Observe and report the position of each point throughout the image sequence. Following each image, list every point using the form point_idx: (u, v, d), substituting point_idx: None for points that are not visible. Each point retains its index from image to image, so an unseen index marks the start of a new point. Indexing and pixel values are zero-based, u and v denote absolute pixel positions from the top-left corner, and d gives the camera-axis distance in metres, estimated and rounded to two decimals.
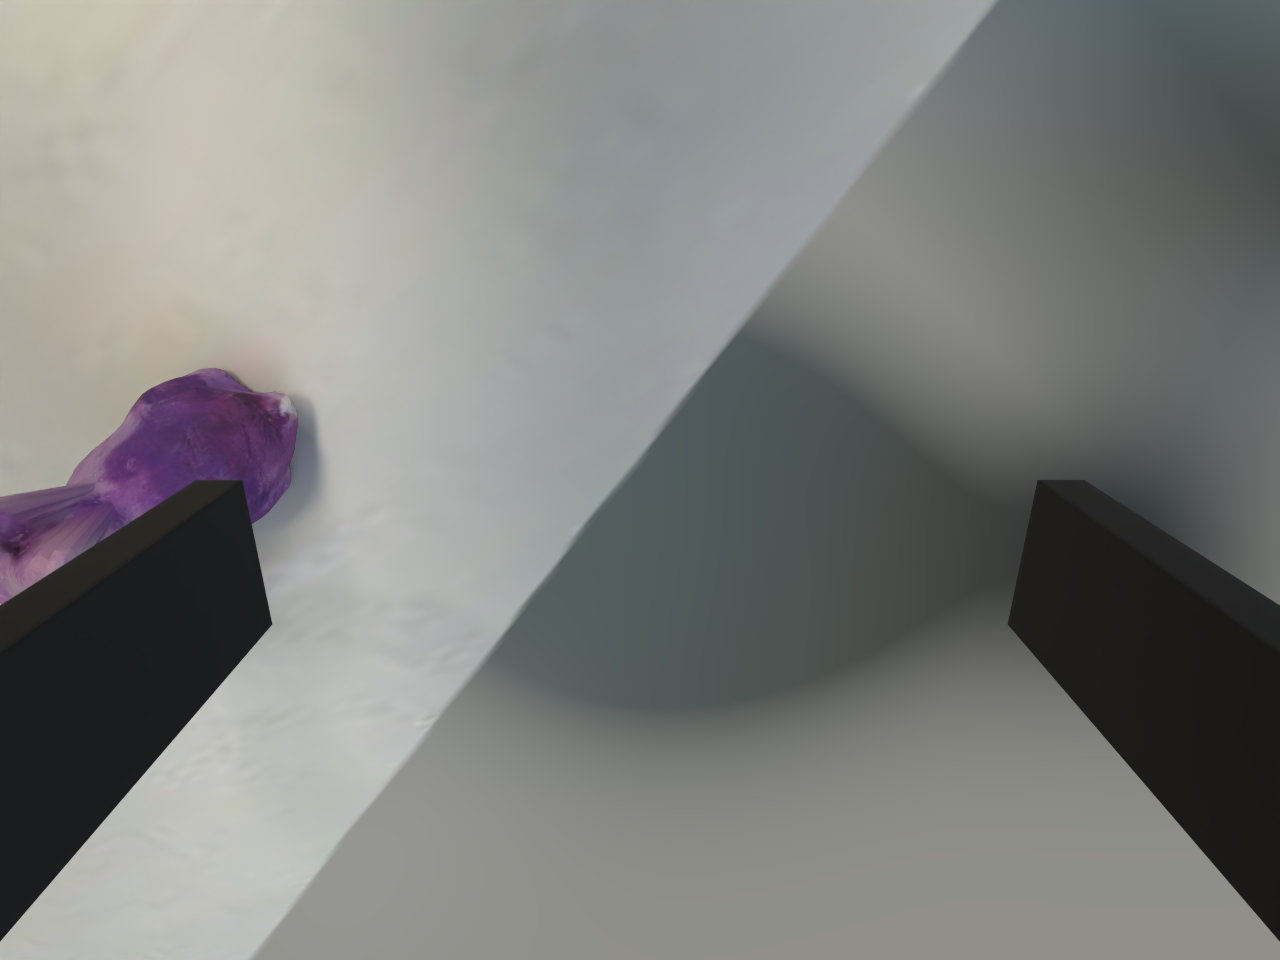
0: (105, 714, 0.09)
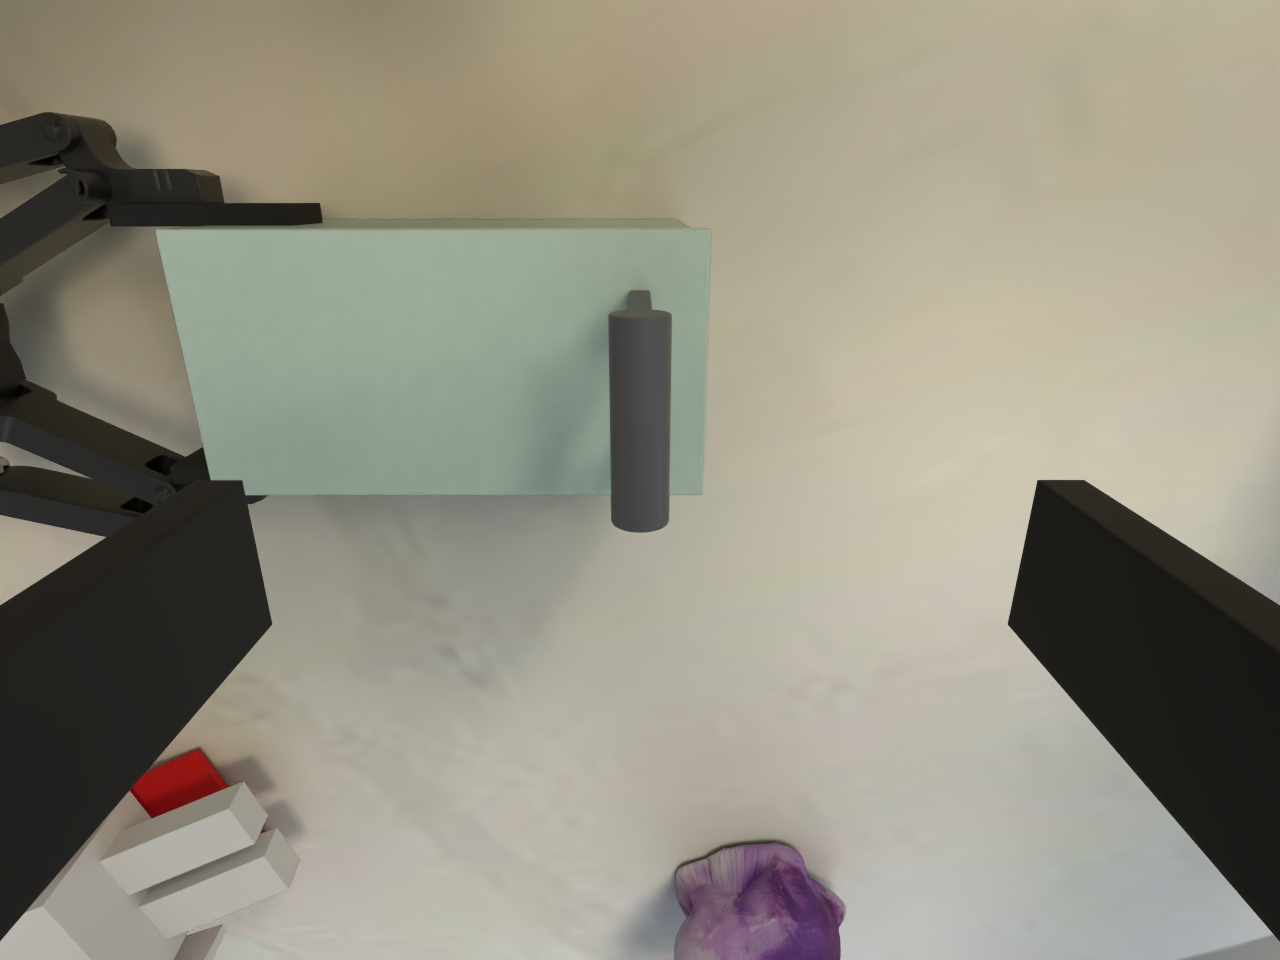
0: (105, 714, 0.09)
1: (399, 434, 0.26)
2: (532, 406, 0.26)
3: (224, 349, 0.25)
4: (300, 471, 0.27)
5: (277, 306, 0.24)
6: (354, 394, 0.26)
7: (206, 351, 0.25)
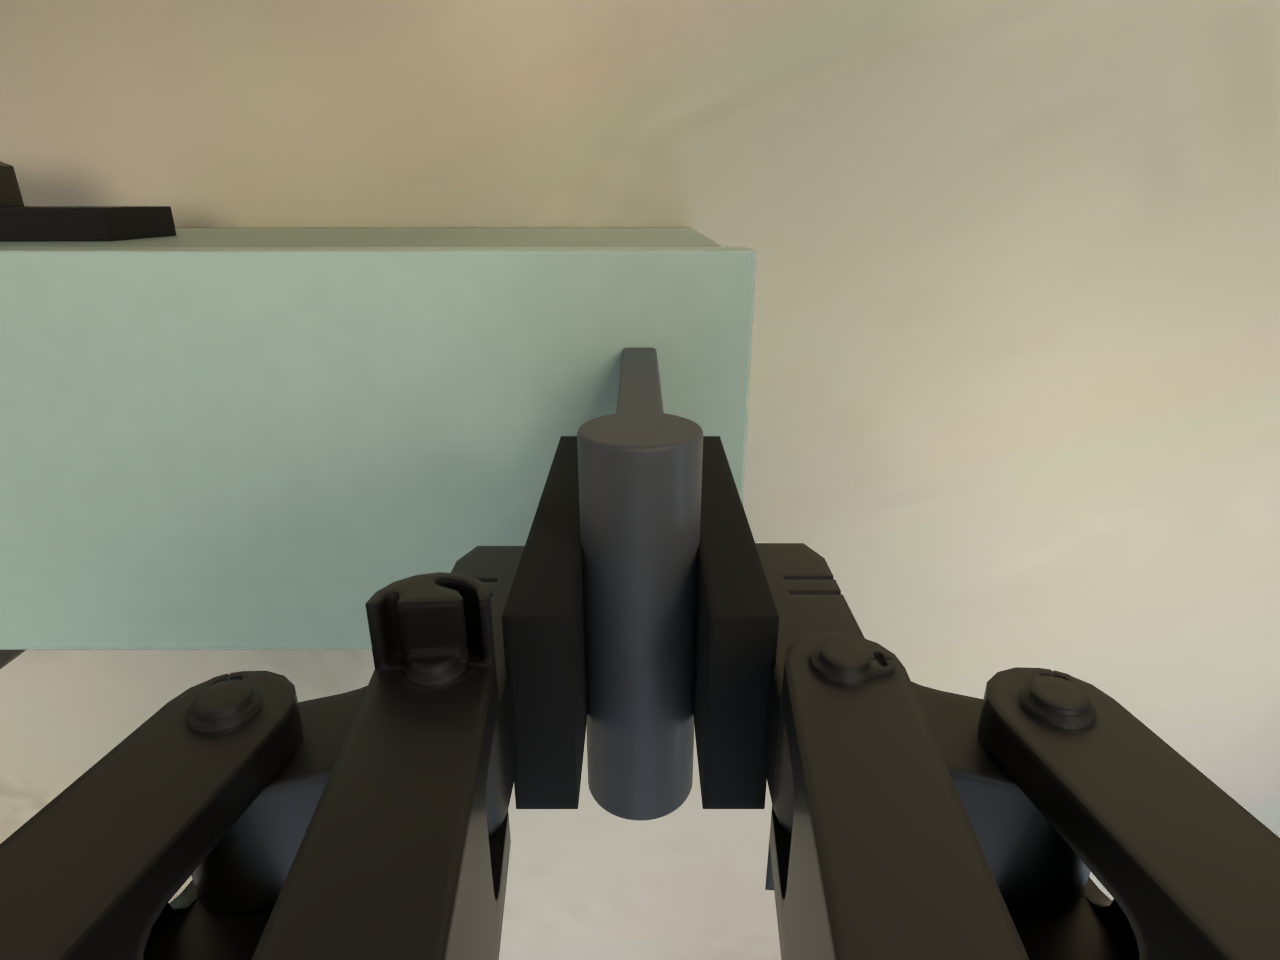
0: None
1: (269, 563, 0.17)
2: (473, 522, 0.17)
3: None
4: (123, 617, 0.17)
5: (60, 372, 0.15)
6: (195, 505, 0.16)
7: None
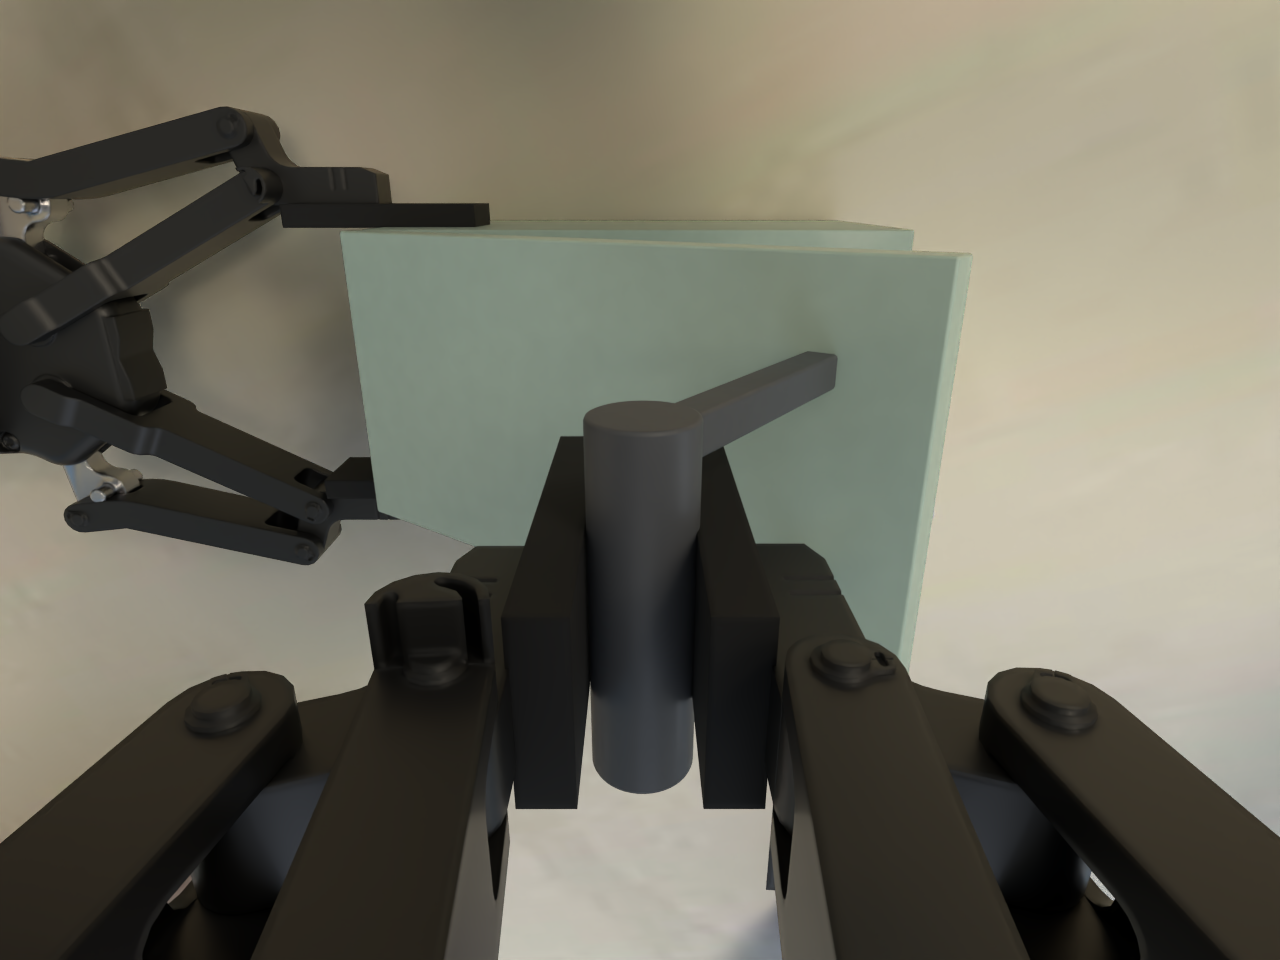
0: None
1: (522, 492, 0.21)
2: None
3: (384, 363, 0.23)
4: (439, 508, 0.23)
5: (423, 322, 0.21)
6: (484, 435, 0.21)
7: (373, 363, 0.23)
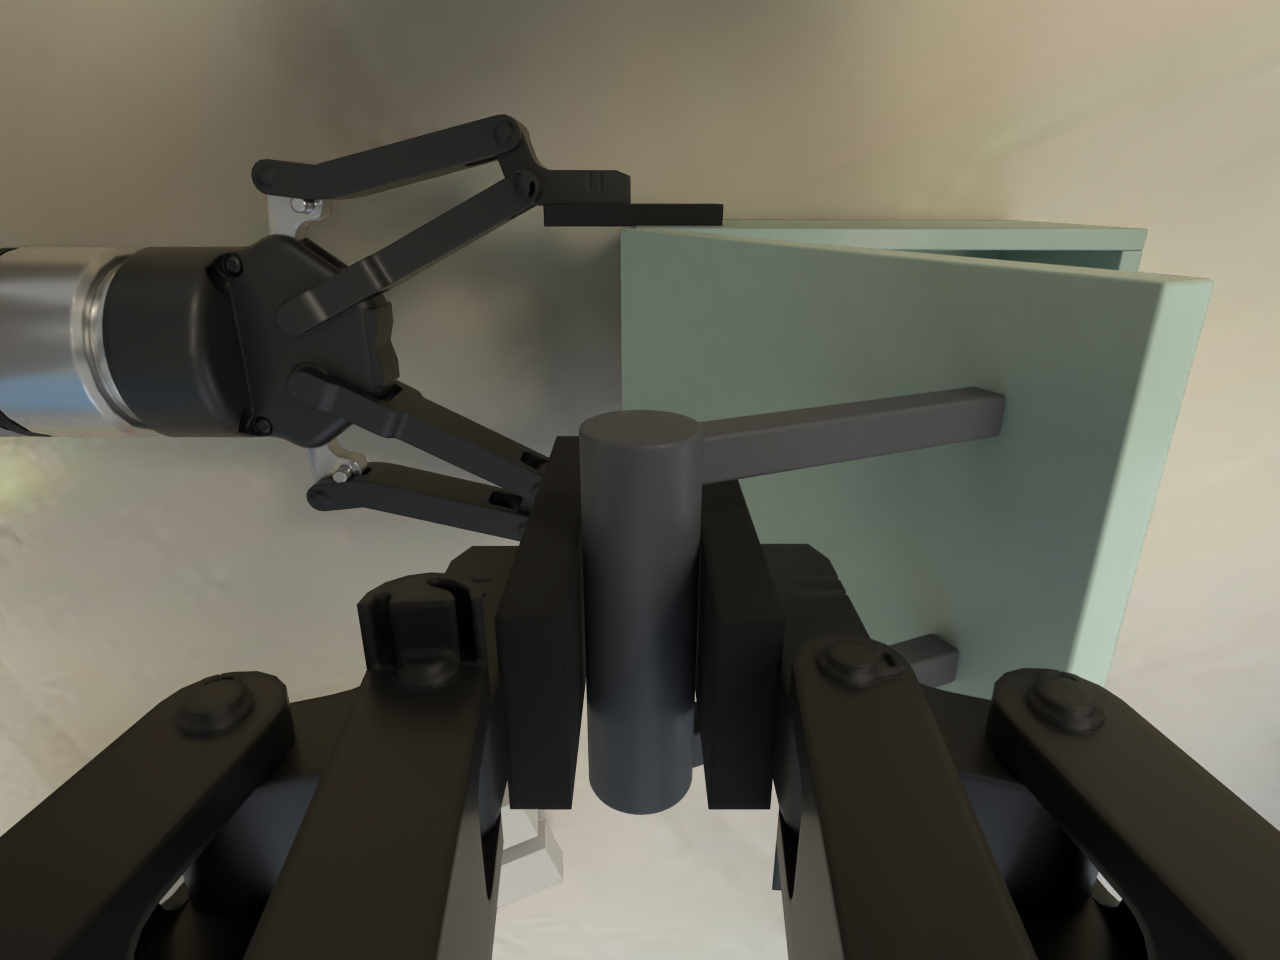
0: None
1: None
2: (824, 524, 0.16)
3: (637, 352, 0.25)
4: None
5: (665, 317, 0.22)
6: None
7: (630, 351, 0.25)
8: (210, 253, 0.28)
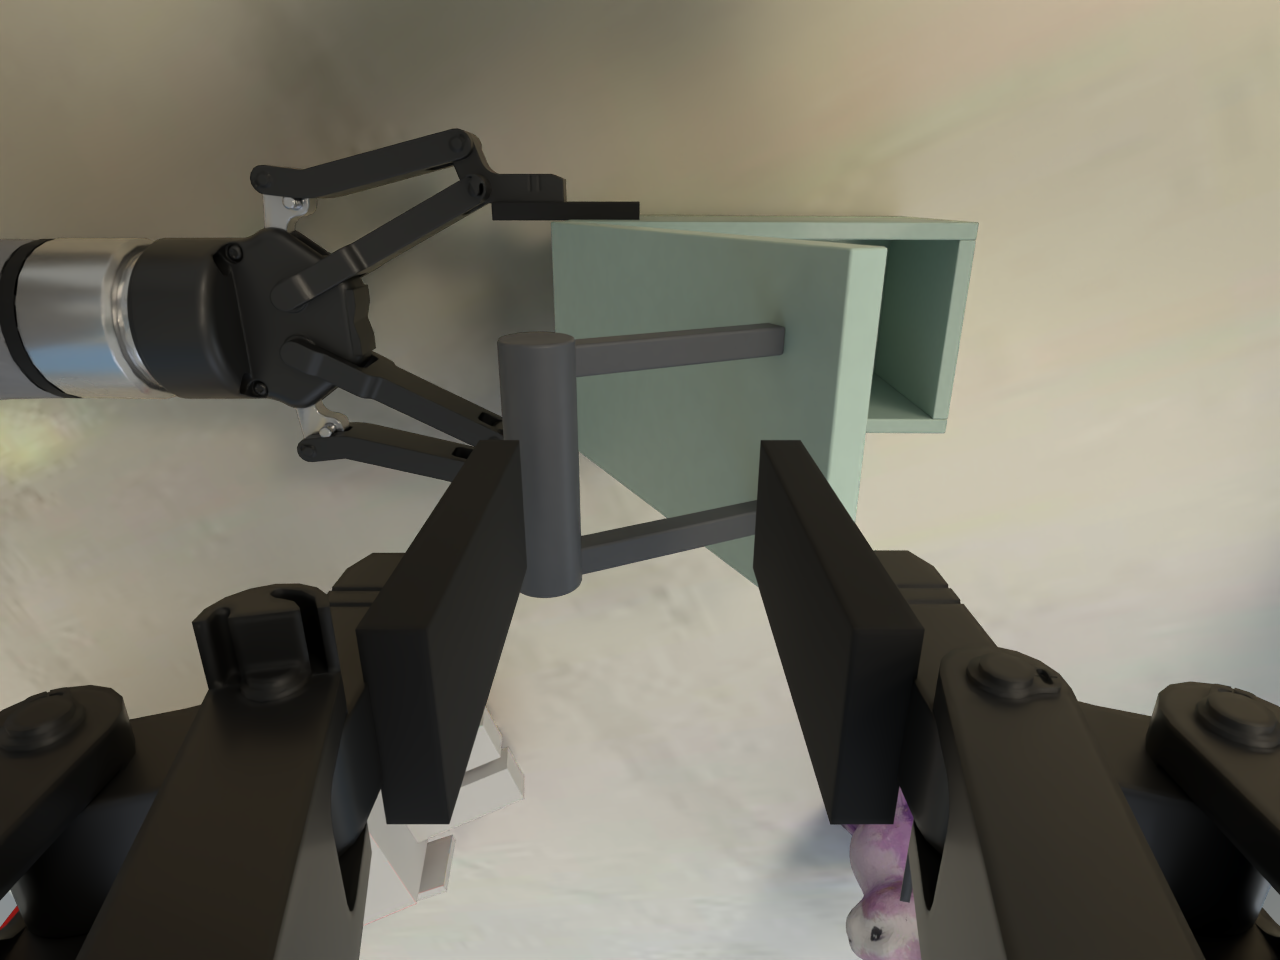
0: (485, 620, 0.11)
1: (626, 428, 0.27)
2: (694, 436, 0.22)
3: (566, 322, 0.30)
4: (587, 437, 0.30)
5: (585, 291, 0.28)
6: (609, 380, 0.27)
7: (561, 321, 0.31)
8: (215, 243, 0.33)
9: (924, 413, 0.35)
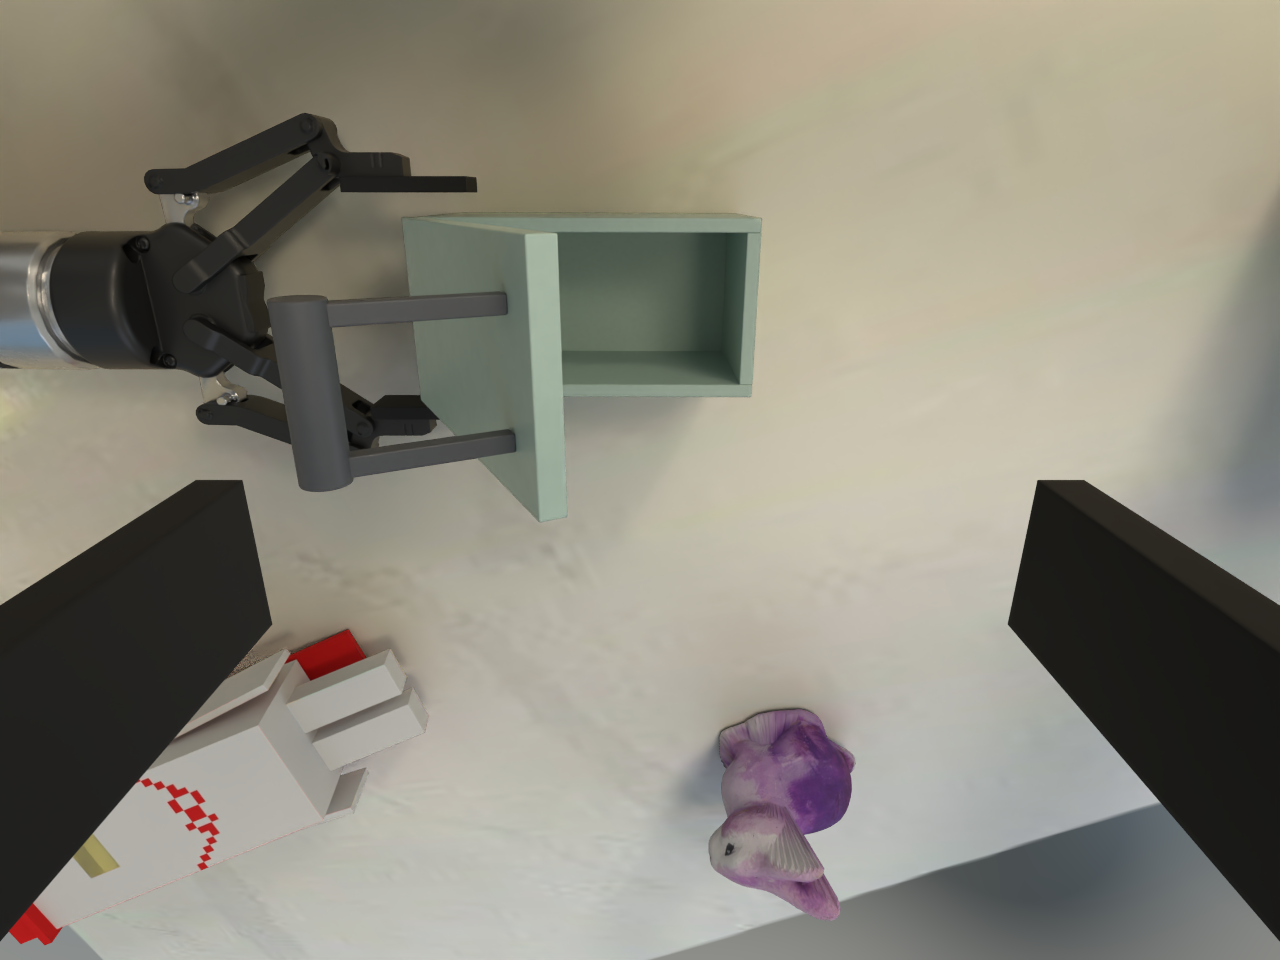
0: (105, 714, 0.09)
1: (450, 385, 0.33)
2: (479, 386, 0.28)
3: None
4: (433, 397, 0.36)
5: (422, 274, 0.34)
6: (440, 347, 0.33)
7: None
8: (126, 235, 0.39)
9: (735, 380, 0.41)
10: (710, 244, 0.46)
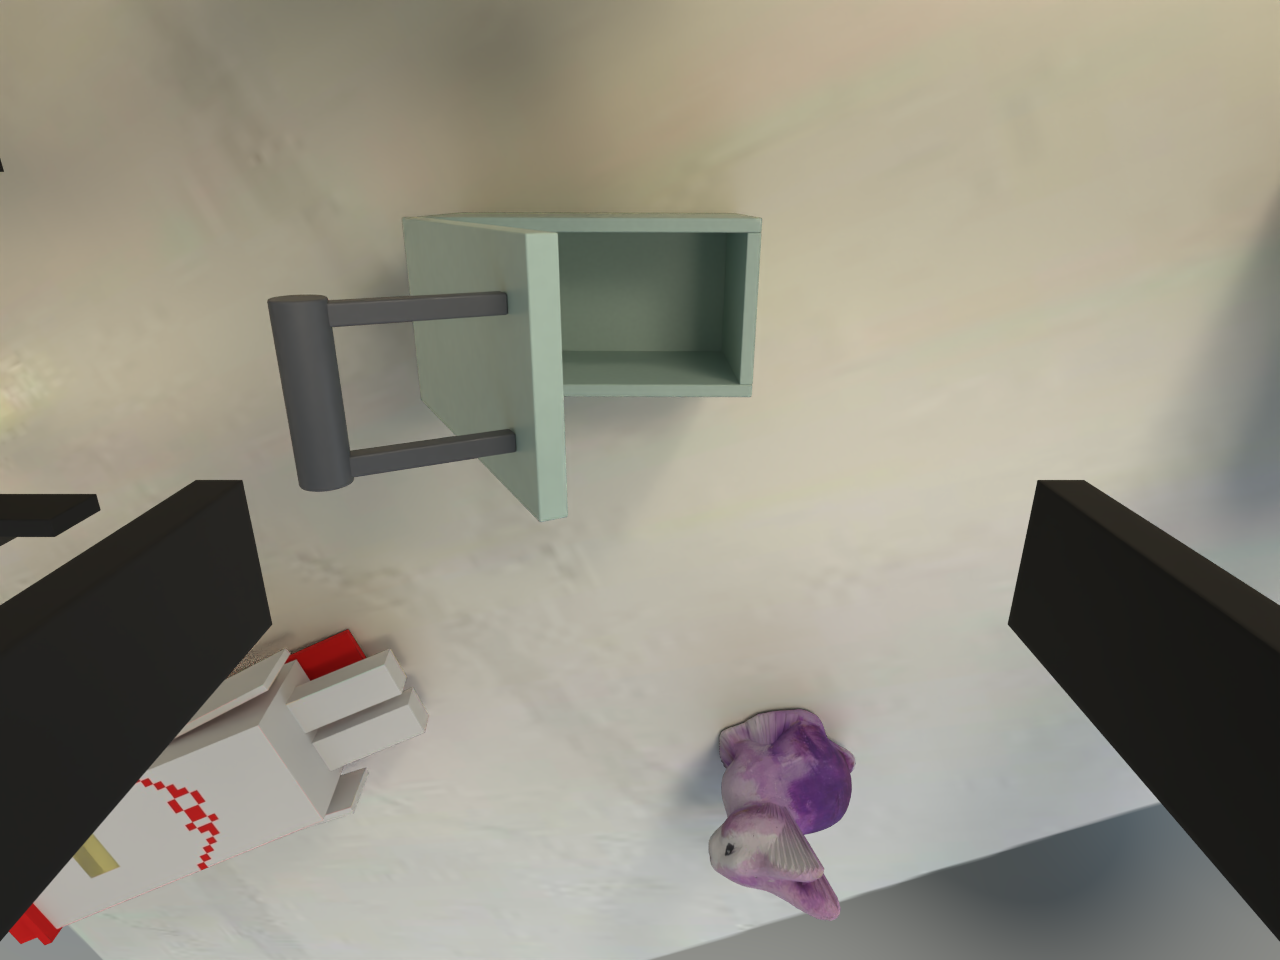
0: (105, 714, 0.09)
1: (450, 385, 0.33)
2: (479, 385, 0.28)
3: None
4: (434, 397, 0.36)
5: (422, 274, 0.34)
6: (440, 347, 0.33)
7: None
8: None
9: (736, 380, 0.41)
10: (710, 244, 0.46)
